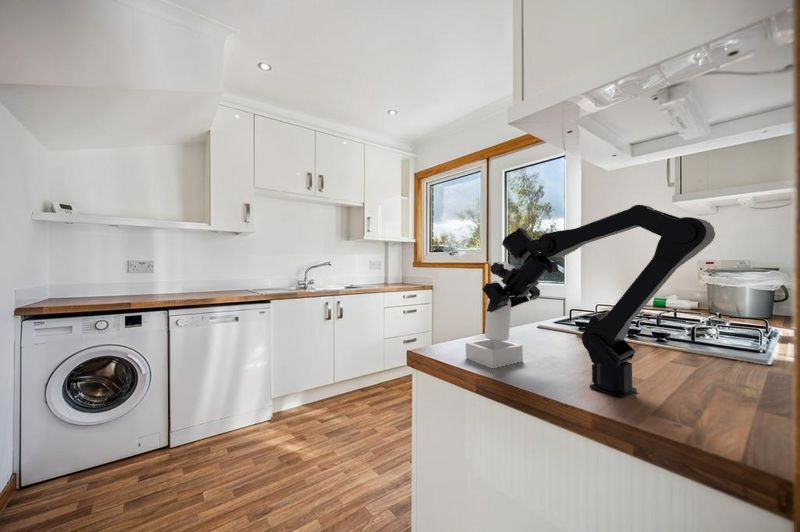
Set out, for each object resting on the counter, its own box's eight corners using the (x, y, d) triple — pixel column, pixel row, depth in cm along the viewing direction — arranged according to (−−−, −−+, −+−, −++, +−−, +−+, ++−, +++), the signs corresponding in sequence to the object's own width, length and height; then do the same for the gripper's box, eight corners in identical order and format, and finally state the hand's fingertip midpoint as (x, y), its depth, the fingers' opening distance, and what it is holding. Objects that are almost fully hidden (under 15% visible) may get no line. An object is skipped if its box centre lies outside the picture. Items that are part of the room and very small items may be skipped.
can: (487, 339, 91) (490, 295, 91) (482, 335, 97) (485, 294, 97) (511, 341, 90) (514, 297, 90) (505, 337, 97) (508, 295, 97)
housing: (522, 361, 92) (522, 345, 92) (493, 368, 86) (492, 351, 86) (494, 352, 101) (493, 337, 101) (466, 358, 96) (465, 342, 96)
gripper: (529, 251, 96) (498, 287, 105) (487, 252, 85) (456, 292, 94) (556, 279, 90) (521, 315, 99) (515, 284, 79) (479, 324, 88)
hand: (494, 310), depth 95 cm, fingers closed on can, 6 cm apart
